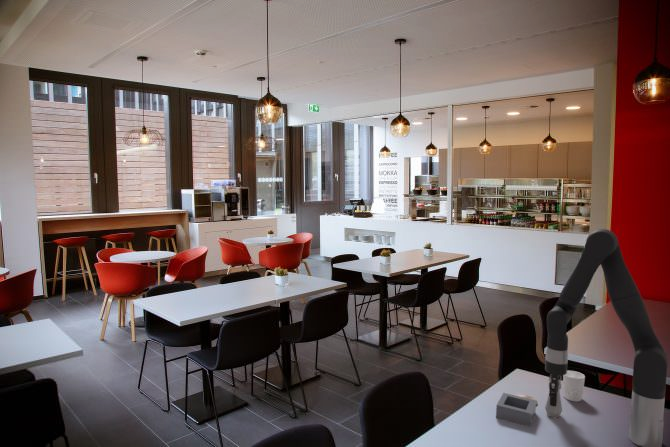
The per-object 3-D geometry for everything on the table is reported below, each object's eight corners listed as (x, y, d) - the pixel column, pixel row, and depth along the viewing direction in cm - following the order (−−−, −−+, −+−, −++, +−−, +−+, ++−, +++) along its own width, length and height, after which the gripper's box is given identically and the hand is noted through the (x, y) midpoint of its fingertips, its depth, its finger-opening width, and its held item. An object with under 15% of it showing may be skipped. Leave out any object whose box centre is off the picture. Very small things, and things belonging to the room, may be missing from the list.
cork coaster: (538, 399, 192) (538, 398, 191) (535, 408, 184) (535, 407, 184) (515, 394, 196) (515, 392, 196) (511, 402, 188) (511, 401, 188)
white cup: (557, 395, 196) (559, 372, 195) (570, 392, 199) (572, 369, 198) (574, 403, 188) (575, 379, 188) (587, 400, 192) (589, 376, 191)
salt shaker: (563, 419, 176) (565, 386, 175) (546, 417, 177) (548, 384, 176) (559, 412, 182) (561, 379, 180) (543, 410, 183) (545, 378, 181)
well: (535, 412, 181) (536, 400, 180) (530, 426, 170) (530, 413, 170) (502, 404, 187) (503, 392, 186) (495, 417, 177) (496, 404, 176)
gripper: (565, 368, 169) (562, 413, 171) (569, 355, 181) (566, 398, 183) (542, 363, 173) (540, 408, 175) (548, 351, 185) (545, 393, 187)
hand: (553, 402), depth 179 cm, fingers open, 4 cm apart
